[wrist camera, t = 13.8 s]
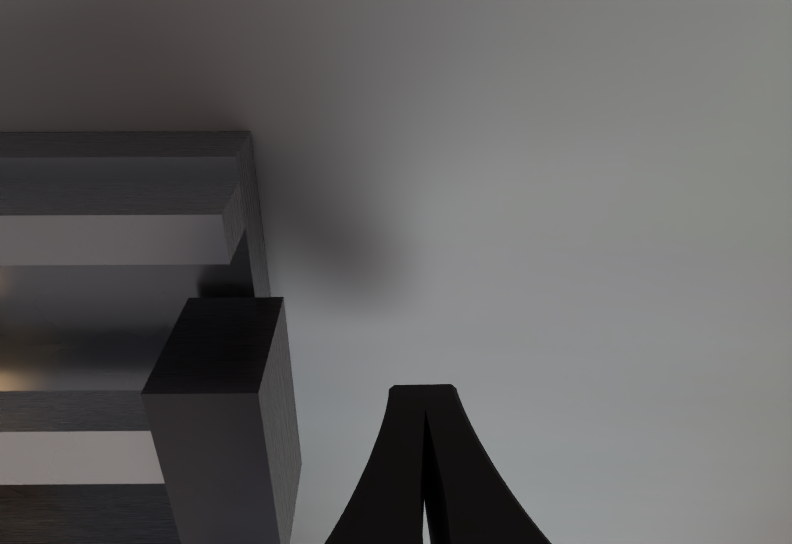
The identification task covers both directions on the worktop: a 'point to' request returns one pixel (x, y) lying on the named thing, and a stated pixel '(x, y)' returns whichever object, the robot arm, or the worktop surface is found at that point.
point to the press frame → (113, 288)
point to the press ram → (181, 427)
